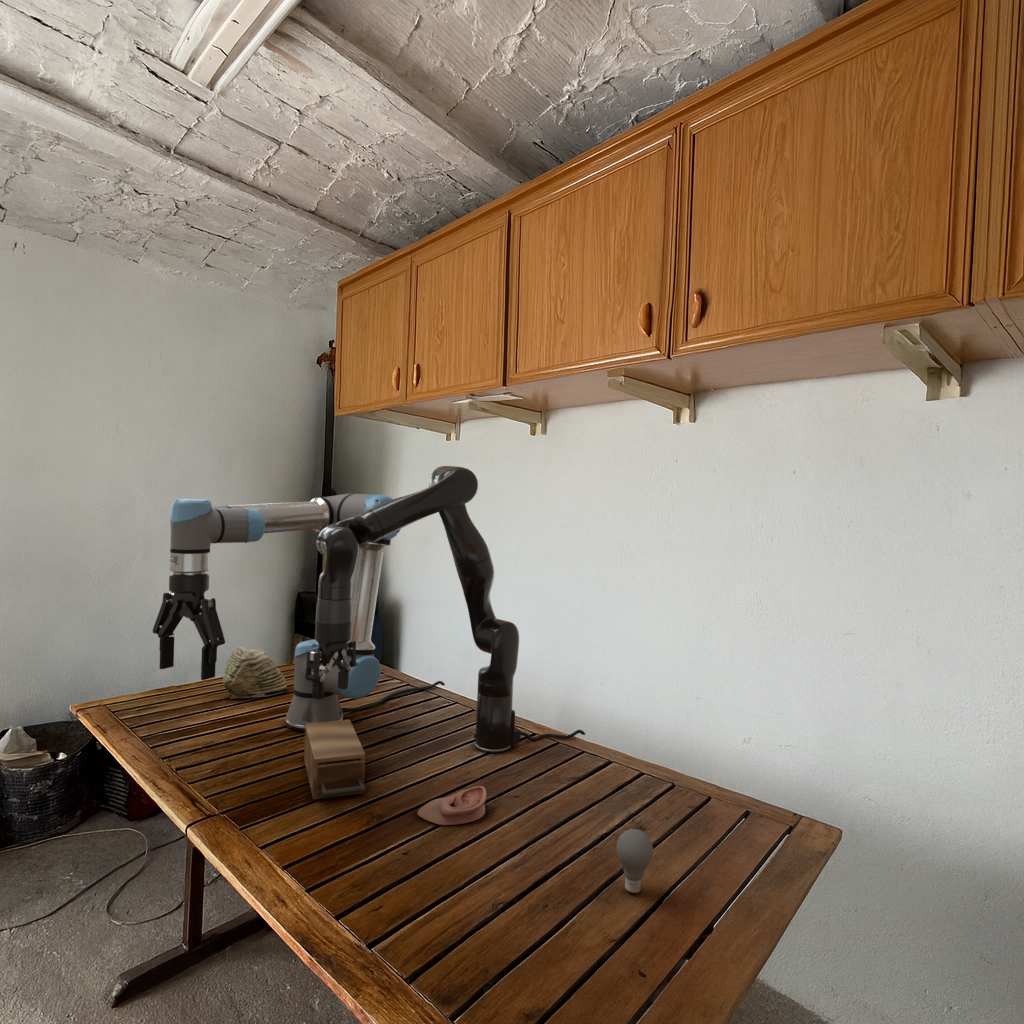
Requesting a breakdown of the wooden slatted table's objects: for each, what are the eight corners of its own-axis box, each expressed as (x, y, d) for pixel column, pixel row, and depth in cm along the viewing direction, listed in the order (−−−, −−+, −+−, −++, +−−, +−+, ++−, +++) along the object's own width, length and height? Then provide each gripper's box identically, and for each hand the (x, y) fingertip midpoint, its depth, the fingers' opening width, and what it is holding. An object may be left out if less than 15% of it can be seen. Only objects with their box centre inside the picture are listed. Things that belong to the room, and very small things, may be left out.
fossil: (218, 695, 195) (220, 647, 195) (278, 685, 208) (279, 640, 207) (228, 703, 189) (230, 653, 188) (289, 692, 201) (290, 645, 201)
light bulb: (610, 879, 108) (613, 822, 108) (644, 879, 109) (647, 822, 109) (619, 902, 102) (622, 840, 102) (655, 901, 103) (658, 840, 103)
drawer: (366, 804, 130) (368, 771, 129) (319, 810, 126) (321, 777, 126) (347, 755, 153) (349, 728, 153) (308, 759, 150) (309, 731, 150)
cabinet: (363, 792, 136) (365, 753, 136) (312, 799, 132) (314, 759, 132) (348, 753, 156) (349, 719, 156) (304, 758, 152) (305, 723, 152)
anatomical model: (412, 801, 125) (431, 776, 136) (411, 820, 125) (430, 795, 136) (477, 810, 122) (491, 784, 134) (476, 830, 122) (490, 803, 134)
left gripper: (136, 568, 135) (133, 667, 136) (213, 580, 124) (210, 687, 124) (169, 566, 142) (166, 659, 143) (245, 576, 130) (242, 678, 131)
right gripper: (327, 626, 128) (324, 705, 129) (367, 615, 142) (364, 687, 142) (297, 622, 131) (294, 699, 131) (339, 612, 144) (336, 682, 145)
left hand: (186, 673), depth 133 cm, fingers open, 13 cm apart
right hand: (330, 693), depth 137 cm, fingers open, 8 cm apart
